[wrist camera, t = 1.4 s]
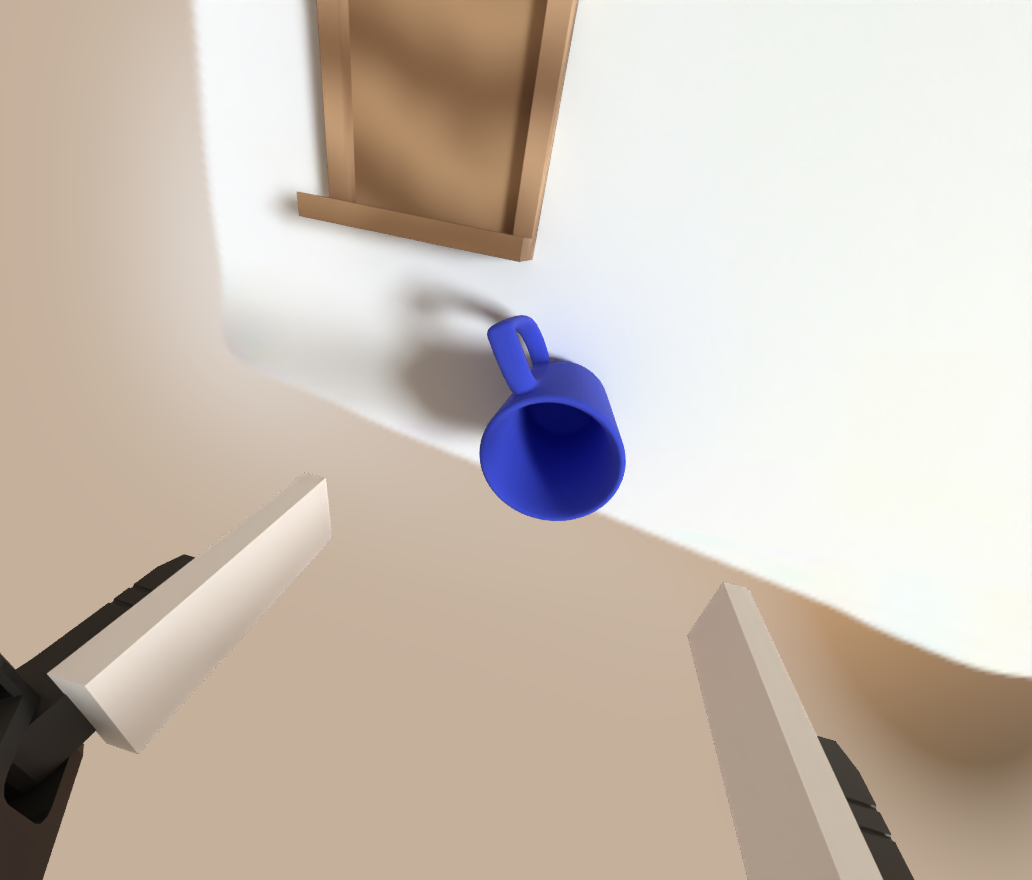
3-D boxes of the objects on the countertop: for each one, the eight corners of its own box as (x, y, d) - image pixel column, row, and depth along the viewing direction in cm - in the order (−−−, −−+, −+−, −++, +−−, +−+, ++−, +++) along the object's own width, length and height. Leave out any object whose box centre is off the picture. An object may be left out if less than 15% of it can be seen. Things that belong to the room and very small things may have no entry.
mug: (580, 277, 25) (573, 294, 16) (627, 429, 29) (643, 507, 20) (475, 322, 27) (421, 357, 19) (533, 455, 32) (511, 533, 23)
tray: (329, -201, 17) (240, -354, 13) (608, -170, 16) (614, -324, 12) (348, 221, 26) (299, 215, 21) (532, 259, 25) (519, 261, 20)
